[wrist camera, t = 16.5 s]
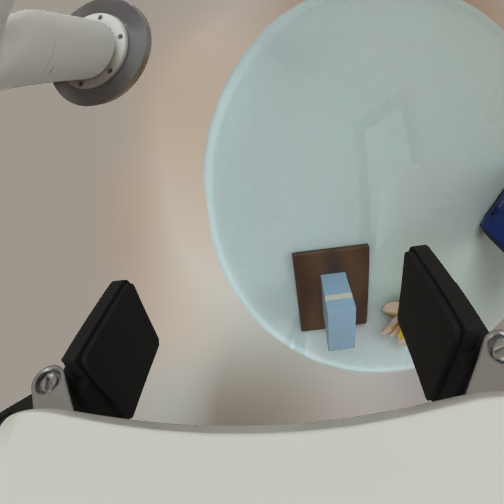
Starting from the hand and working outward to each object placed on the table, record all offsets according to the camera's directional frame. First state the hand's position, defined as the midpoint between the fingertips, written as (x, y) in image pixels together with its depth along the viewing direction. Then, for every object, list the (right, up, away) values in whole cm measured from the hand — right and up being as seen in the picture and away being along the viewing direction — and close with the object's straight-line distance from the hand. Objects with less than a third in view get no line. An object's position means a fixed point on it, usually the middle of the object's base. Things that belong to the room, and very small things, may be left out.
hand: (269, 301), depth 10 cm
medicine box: (+13, -5, +40) cm, 42 cm away
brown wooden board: (+13, -5, +41) cm, 43 cm away
